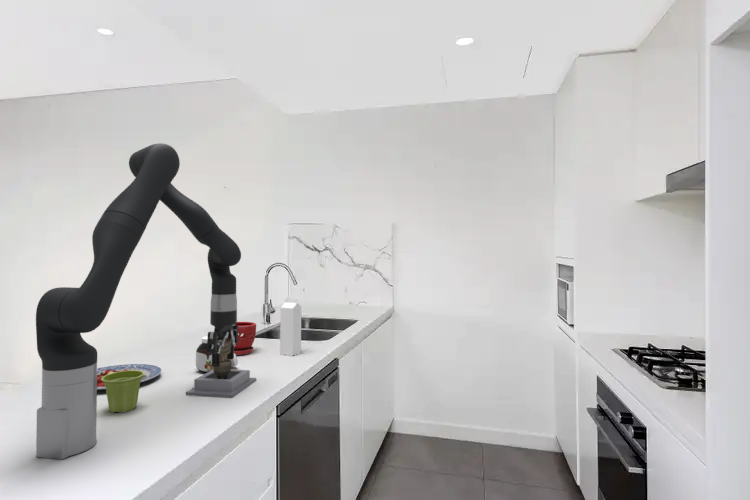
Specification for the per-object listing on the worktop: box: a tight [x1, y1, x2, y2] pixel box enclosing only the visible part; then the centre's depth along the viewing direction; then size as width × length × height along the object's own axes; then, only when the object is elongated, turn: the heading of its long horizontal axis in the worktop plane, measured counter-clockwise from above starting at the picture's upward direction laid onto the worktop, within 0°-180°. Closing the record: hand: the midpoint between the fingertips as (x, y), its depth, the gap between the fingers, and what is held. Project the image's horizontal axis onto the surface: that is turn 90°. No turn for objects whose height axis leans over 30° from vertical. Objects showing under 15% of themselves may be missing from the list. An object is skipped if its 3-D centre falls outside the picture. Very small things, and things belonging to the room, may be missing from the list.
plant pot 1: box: [101, 370, 144, 413], centre depth 107 cm, size 9×9×9 cm
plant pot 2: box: [234, 321, 257, 356], centre depth 167 cm, size 13×13×12 cm
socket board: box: [185, 368, 257, 399], centre depth 125 cm, size 16×14×4 cm
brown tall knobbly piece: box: [213, 338, 232, 379], centre depth 124 cm, size 6×6×15 cm
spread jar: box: [195, 335, 239, 375], centre depth 143 cm, size 12×11×12 cm
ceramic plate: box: [97, 363, 162, 391], centre depth 130 cm, size 26×26×3 cm
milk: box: [279, 298, 302, 357], centre depth 167 cm, size 6×6×22 cm
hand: (223, 362), depth 125 cm, fingers open, 8 cm apart
